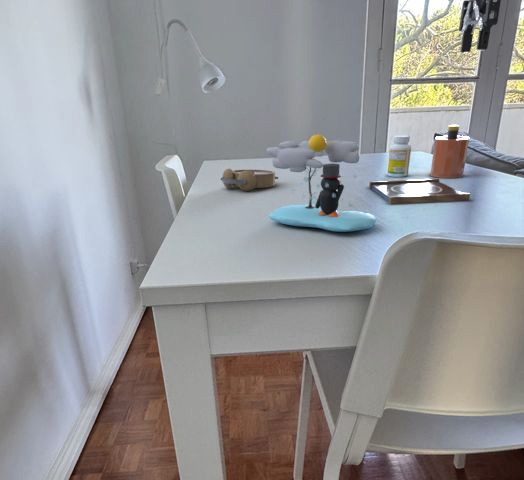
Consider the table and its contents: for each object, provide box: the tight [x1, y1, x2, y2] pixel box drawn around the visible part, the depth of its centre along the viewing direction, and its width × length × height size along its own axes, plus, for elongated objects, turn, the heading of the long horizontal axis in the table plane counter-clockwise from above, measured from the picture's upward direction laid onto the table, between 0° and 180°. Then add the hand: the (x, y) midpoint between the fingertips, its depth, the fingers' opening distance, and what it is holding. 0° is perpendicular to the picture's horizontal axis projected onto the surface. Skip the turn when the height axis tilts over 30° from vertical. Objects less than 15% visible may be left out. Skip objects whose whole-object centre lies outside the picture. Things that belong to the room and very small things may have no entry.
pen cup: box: [430, 135, 470, 179], centre depth 120 cm, size 8×8×9 cm
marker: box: [446, 124, 460, 139], centre depth 120 cm, size 2×2×11 cm
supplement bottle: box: [387, 134, 412, 178], centre depth 123 cm, size 5×5×10 cm
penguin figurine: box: [266, 133, 377, 233], centre depth 81 cm, size 20×11×15 cm, turn 51°
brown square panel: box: [368, 178, 471, 205], centre depth 105 cm, size 17×17×1 cm
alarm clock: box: [220, 168, 279, 192], centre depth 117 cm, size 11×5×15 cm
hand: (473, 51), depth 109 cm, fingers open, 8 cm apart
